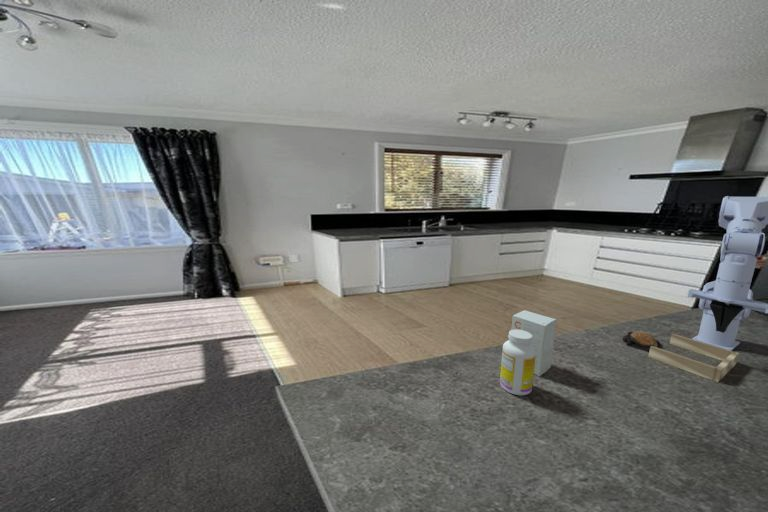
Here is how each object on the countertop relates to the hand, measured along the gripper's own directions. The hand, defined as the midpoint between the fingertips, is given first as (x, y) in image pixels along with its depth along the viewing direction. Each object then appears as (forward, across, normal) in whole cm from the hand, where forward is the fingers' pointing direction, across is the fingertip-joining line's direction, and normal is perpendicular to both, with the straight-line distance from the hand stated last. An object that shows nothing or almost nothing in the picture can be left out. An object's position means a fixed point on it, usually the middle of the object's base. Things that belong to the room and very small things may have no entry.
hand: (720, 330), depth 78 cm
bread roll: (+9, -14, -5) cm, 17 cm away
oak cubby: (+8, -3, -5) cm, 10 cm away
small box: (+9, -23, -45) cm, 51 cm away
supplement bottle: (+9, -19, -56) cm, 60 cm away
